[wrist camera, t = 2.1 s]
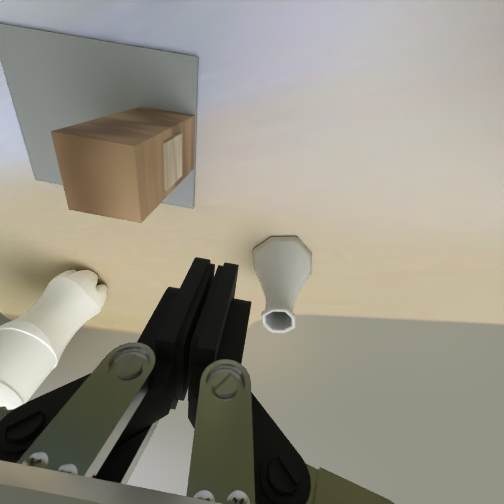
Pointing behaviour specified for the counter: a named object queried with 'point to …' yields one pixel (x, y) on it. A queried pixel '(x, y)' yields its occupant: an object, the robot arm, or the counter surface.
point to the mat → (90, 89)
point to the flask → (281, 279)
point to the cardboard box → (125, 161)
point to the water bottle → (45, 333)
